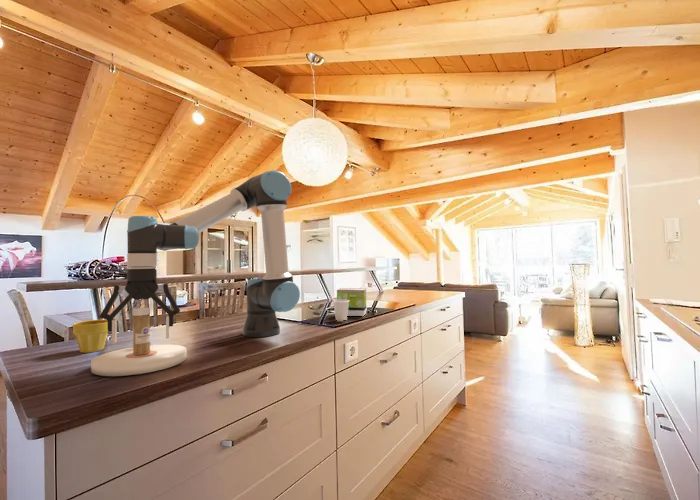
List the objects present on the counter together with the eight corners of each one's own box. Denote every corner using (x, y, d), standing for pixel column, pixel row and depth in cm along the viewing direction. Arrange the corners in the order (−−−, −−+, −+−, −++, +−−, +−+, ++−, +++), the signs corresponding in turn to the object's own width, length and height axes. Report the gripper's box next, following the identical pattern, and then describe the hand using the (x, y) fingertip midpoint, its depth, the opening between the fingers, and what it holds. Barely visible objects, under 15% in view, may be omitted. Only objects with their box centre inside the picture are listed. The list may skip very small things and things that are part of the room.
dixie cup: (331, 321, 170) (331, 301, 170) (334, 318, 178) (334, 299, 178) (348, 321, 169) (348, 301, 169) (350, 319, 177) (350, 299, 177)
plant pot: (90, 354, 113) (90, 325, 114) (64, 353, 116) (65, 324, 116) (117, 347, 124) (117, 319, 124) (93, 346, 126) (93, 319, 126)
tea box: (336, 317, 184) (336, 289, 185) (340, 314, 194) (339, 287, 195) (364, 317, 182) (364, 289, 182) (366, 314, 192) (366, 287, 192)
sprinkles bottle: (142, 356, 99) (141, 309, 99) (128, 355, 100) (128, 309, 100) (154, 351, 104) (153, 307, 104) (141, 351, 105) (140, 307, 105)
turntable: (186, 348, 118) (187, 326, 118) (186, 368, 96) (186, 341, 96) (102, 357, 108) (102, 333, 108) (79, 381, 86) (79, 351, 86)
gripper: (188, 267, 111) (188, 333, 111) (94, 268, 101) (93, 341, 100) (188, 267, 104) (188, 337, 104) (87, 269, 94) (86, 347, 93)
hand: (141, 340), depth 102 cm, fingers open, 13 cm apart
